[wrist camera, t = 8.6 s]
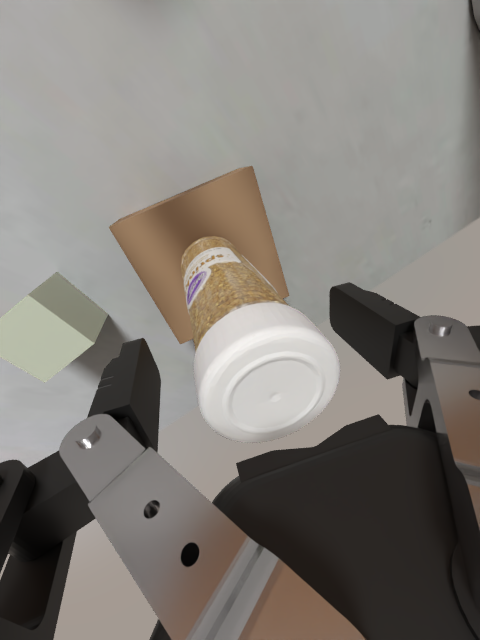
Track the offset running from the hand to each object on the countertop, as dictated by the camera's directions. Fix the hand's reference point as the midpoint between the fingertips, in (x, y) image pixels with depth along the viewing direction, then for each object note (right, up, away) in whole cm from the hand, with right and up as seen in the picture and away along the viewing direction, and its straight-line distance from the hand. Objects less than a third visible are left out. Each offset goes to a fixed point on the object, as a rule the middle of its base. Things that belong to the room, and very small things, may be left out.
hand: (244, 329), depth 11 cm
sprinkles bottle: (-2, +4, +8) cm, 10 cm away
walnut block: (-3, +6, +12) cm, 14 cm away
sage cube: (-15, +1, +11) cm, 19 cm away
